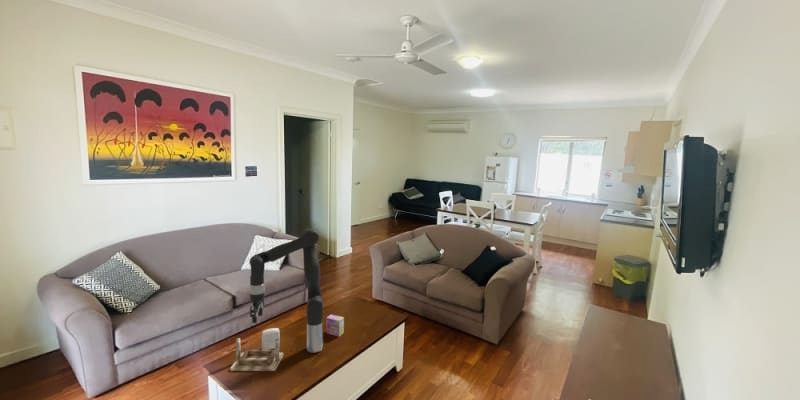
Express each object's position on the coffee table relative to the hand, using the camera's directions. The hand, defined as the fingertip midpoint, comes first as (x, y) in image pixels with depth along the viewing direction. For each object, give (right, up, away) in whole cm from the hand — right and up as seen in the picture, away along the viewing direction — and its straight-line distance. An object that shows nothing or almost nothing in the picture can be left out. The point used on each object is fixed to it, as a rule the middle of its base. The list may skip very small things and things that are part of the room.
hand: (257, 319), depth 183 cm
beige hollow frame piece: (-1, -26, +3) cm, 26 cm away
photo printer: (0, -25, +18) cm, 30 cm away
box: (+36, -24, +37) cm, 57 cm away
